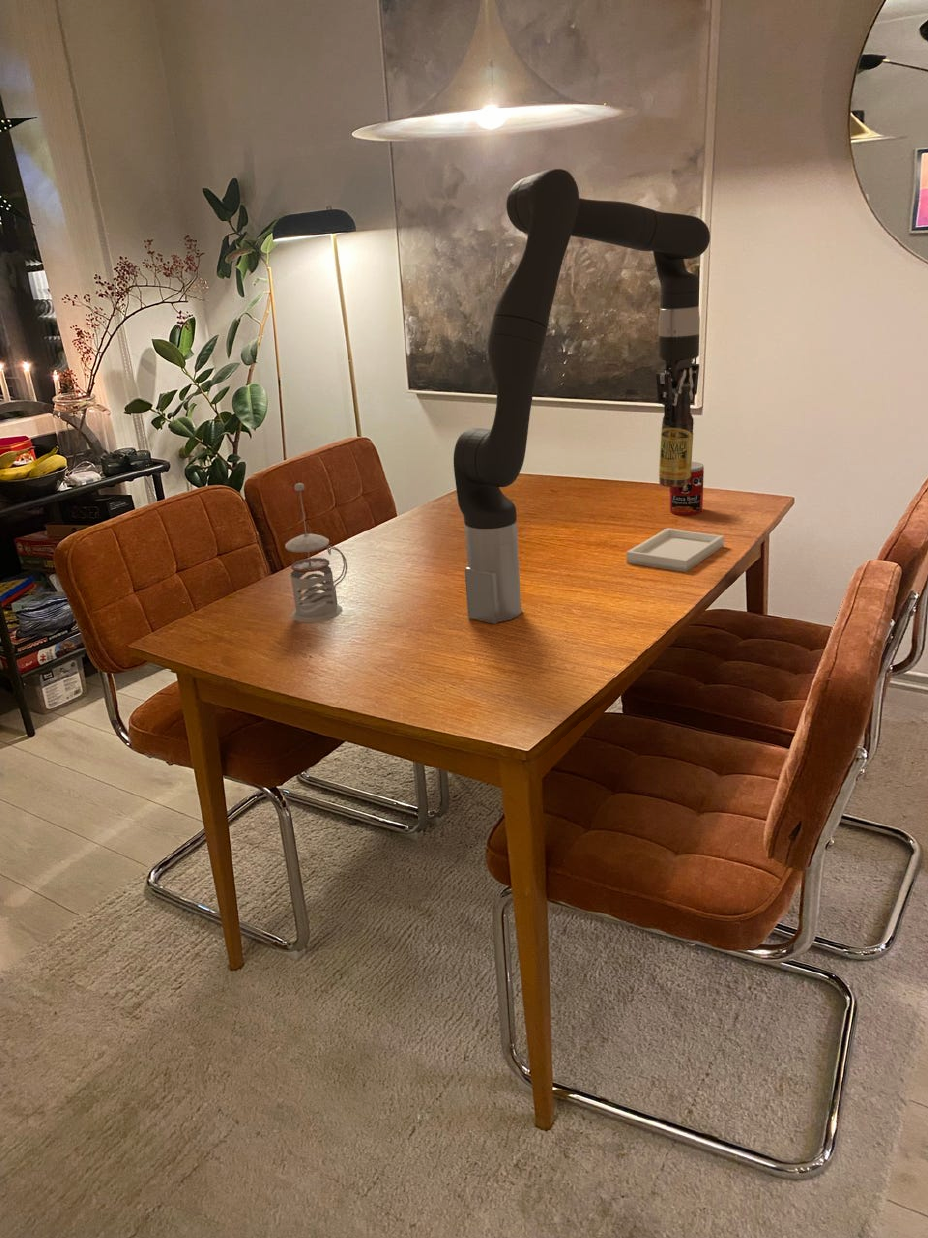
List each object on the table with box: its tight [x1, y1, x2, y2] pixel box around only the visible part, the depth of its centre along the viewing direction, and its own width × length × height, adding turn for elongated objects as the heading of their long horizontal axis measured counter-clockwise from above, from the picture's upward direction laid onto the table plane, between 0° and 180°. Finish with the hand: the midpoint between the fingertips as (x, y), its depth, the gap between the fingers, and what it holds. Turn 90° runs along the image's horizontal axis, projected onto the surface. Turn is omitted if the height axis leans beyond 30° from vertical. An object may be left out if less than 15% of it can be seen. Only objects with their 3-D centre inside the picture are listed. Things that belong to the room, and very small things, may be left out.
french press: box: [285, 482, 348, 624], centre depth 171 cm, size 10×12×25 cm
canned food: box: [668, 461, 705, 516], centre depth 219 cm, size 8×8×11 cm
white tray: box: [626, 527, 725, 573], centre depth 192 cm, size 18×13×2 cm
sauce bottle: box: [658, 383, 695, 488], centre depth 183 cm, size 6×6×20 cm
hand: (677, 421), depth 182 cm, fingers closed on sauce bottle, 5 cm apart
